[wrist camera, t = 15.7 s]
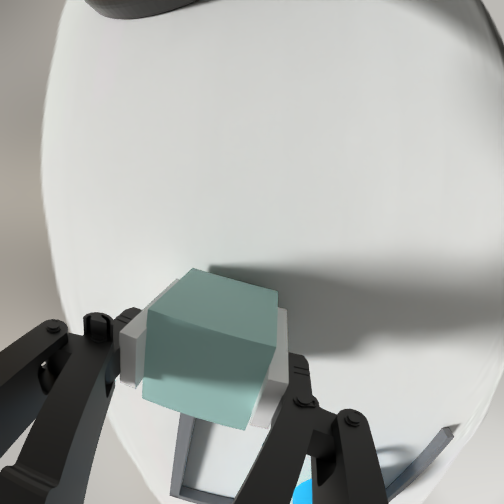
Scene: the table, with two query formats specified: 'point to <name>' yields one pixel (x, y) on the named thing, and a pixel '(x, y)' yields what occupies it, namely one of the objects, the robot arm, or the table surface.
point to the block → (210, 347)
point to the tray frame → (205, 500)
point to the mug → (303, 493)
